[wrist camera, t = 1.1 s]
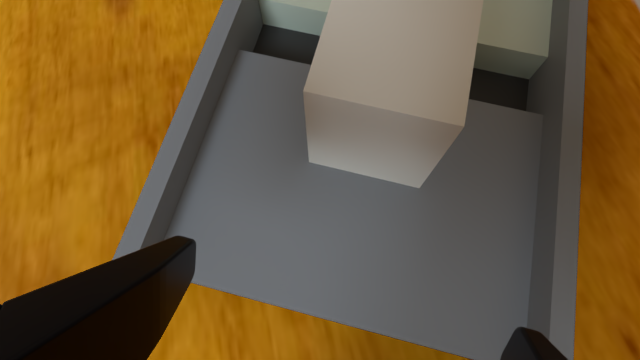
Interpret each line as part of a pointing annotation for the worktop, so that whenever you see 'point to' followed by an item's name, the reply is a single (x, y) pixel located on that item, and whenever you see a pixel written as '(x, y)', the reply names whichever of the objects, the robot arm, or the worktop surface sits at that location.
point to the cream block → (390, 85)
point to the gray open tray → (382, 186)
